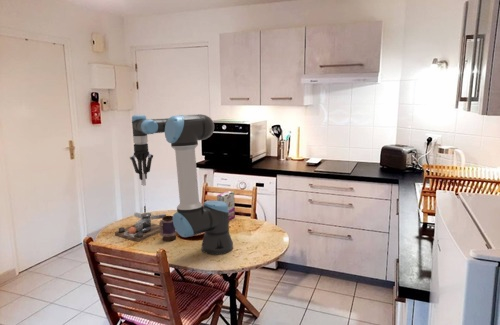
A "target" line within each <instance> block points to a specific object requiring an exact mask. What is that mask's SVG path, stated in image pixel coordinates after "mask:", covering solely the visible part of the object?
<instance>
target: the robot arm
mask: <svg viewBox="0 0 500 325" xmlns="http://www.w3.org/2000/svg"><path fill="white" fill-rule="evenodd" d="M131 128H132V138H133V139H132V140H133V143H134V144H133V155H131V156H129V159H130V160H131V162H132V166H133V168H134V172H135V173H136V174H138V177H139V180H140V183H141V185H142V186H146V185H147V182H146V180H148V173H149V172H150V171H151V166H152V162H153V161H152V160H153V158H154V154H151V153H150V152H149V140H148V135H154V134H162V133H164V137H165V138H166V139H165V140H166V142H168V143H169V144H170V146H171V148H172V149H173V150H174V152H175V162H176V174H177V185H178V186H177V187H178V195H179V196H178V197H179V203H178V205H176V206H177V207H176V212H174V213H173V215H172V216H173V224H174V227H175V230H176V234H178V235H179V236H180V237H182V238H189V237H193V236H196V235H200V234H203V233H204V235H203V239H202V241H201V250H202V252H203V253H205V254H209V255H222V254H226V253H229V252H231V251H232V250H233V249H234V242H233V239H232V237H231V234H230V220H229V210H228V205H227V204H226V203H224V202H221V201H217V200H206V201H204V202H203V203H202V202H201V201H200V196H199V186H198V185H199V182H198V173H197V158H196V148H197V147H198V145H199V144H198V143H199V142H198V141H203V140H207V139H208V138H210V137H211V136H212V135H213V133H214V130H215V123H214V121H213V119H212V118H211V117H210V116H208V115H206V114H179V115H178V114H177V115H172V116H170V117H169V118H168V117H167V118H151V119H150V118H149V119H148V118H147V116H146V115H145V114H137V115H132V116H131ZM136 159H137V161H136Z"/></svg>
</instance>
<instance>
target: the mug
mask: <svg viewBox="0 0 500 325" xmlns="http://www.w3.org/2000/svg"><path fill="white" fill-rule="evenodd" d="M158 225H159V226H160V232H159V234H160V237H162V240H163V241H164V242H172V241H174V240H176V239H177V231H176V229H175V227H174V224H173V215H166V216H165V217H163V218H161V220H160V219H159V224H158Z"/></svg>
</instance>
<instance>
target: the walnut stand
mask: <svg viewBox="0 0 500 325" xmlns="http://www.w3.org/2000/svg"><path fill="white" fill-rule="evenodd" d="M134 226H135V224H133V225H131V226H128V227H126V228H125V227H124V226H123V227H122V226H121V227H119V228H118V231H115V232H114V236H116V237H120V238H124V239H128V240H130V241H134V242H136V243H137V242H138V243H139V242H142V241H144V240H146V239H148V238H151V237H153V236H155V235H157V234H160V226H159V224H157V223H152V222H151V230H150V231H149V232H146V233H143V232H137V233H135V234H130V233H129V228H131V227H134Z"/></svg>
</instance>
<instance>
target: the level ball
mask: <svg viewBox="0 0 500 325" xmlns="http://www.w3.org/2000/svg"><path fill="white" fill-rule="evenodd" d="M136 231H137V230H136V228H135V227H131V228H129V233H130V234H135V233H136Z"/></svg>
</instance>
